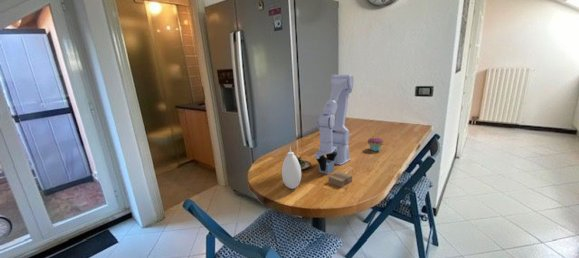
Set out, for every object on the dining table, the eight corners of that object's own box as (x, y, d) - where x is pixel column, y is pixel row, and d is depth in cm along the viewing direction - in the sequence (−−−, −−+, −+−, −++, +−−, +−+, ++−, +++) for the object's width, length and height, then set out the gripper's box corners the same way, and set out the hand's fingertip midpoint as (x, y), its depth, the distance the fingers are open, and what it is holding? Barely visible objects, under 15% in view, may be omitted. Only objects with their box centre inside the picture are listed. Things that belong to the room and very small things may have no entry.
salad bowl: (290, 173, 118) (290, 158, 116) (284, 165, 129) (283, 151, 127) (314, 170, 121) (314, 155, 119) (306, 161, 132) (306, 148, 130)
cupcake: (367, 151, 141) (368, 131, 138) (367, 147, 149) (367, 127, 146) (384, 152, 139) (385, 131, 136) (382, 147, 147) (383, 127, 144)
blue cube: (325, 168, 121) (325, 158, 120) (334, 171, 118) (334, 161, 117) (319, 171, 118) (318, 161, 117) (327, 174, 115) (327, 164, 113)
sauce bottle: (287, 182, 109) (284, 142, 104) (304, 184, 106) (302, 144, 102) (279, 190, 102) (277, 148, 97) (298, 193, 99) (296, 150, 95)
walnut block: (338, 177, 112) (338, 171, 111) (352, 182, 107) (352, 175, 106) (328, 183, 107) (328, 176, 107) (342, 188, 102) (342, 181, 102)
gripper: (328, 136, 122) (329, 162, 125) (309, 143, 112) (310, 171, 116) (340, 138, 117) (340, 165, 120) (321, 146, 107) (322, 175, 111)
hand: (326, 168), depth 118 cm, fingers closed on blue cube, 5 cm apart
